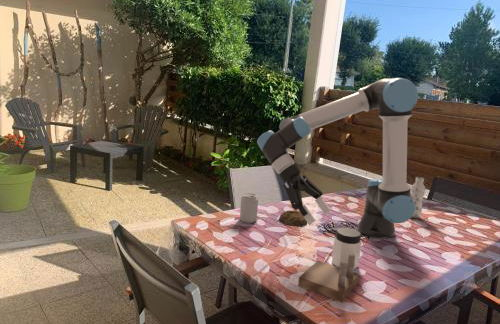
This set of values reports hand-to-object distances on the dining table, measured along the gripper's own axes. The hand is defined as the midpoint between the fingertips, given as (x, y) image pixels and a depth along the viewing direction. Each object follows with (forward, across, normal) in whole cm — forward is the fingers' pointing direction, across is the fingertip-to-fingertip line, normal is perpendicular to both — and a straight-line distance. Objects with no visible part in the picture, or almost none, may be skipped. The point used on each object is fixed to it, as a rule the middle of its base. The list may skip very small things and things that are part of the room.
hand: (320, 217), depth 133 cm
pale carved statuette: (+24, -72, +3) cm, 76 cm away
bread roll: (-6, -26, -27) cm, 38 cm away
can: (-17, -12, -38) cm, 43 cm away
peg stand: (+18, +16, -2) cm, 24 cm away
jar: (+18, 0, -3) cm, 18 cm away
